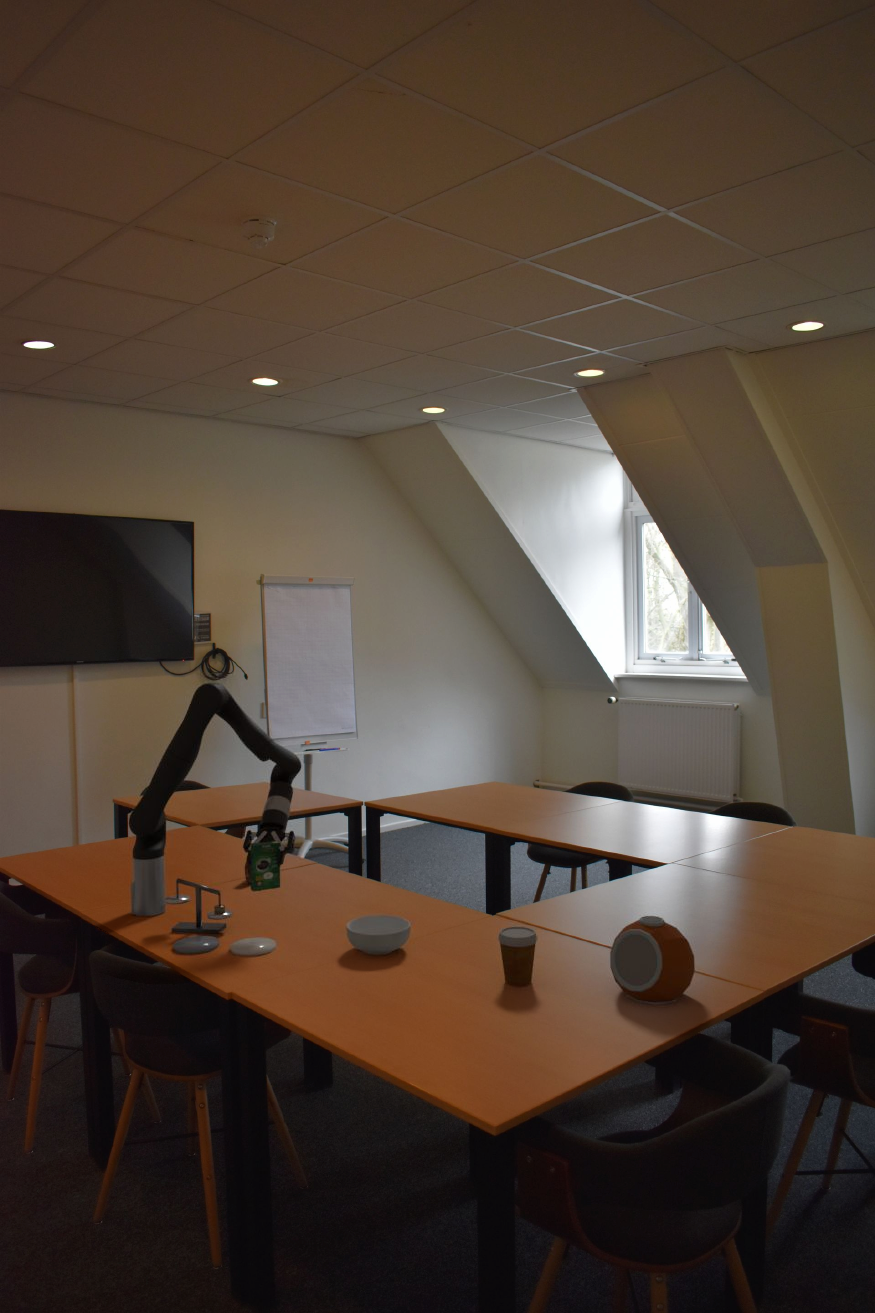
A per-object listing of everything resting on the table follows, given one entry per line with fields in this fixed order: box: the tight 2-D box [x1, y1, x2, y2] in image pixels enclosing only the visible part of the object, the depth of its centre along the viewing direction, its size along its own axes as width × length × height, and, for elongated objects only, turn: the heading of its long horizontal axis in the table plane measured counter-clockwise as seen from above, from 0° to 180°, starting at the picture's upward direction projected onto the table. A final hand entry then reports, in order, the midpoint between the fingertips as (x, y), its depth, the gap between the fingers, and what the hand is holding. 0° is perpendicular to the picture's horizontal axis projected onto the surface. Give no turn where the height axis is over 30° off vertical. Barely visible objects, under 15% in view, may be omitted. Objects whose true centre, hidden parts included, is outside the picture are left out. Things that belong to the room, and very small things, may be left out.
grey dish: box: [173, 935, 220, 955], centre depth 254 cm, size 12×12×1 cm
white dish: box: [229, 937, 277, 957], centre depth 252 cm, size 12×12×1 cm
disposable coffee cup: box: [497, 925, 538, 987], centre depth 225 cm, size 10×10×12 cm
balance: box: [165, 878, 233, 935], centre depth 269 cm, size 20×7×15 cm, turn 82°
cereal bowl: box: [345, 914, 411, 956], centre depth 249 cm, size 17×17×7 cm
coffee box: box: [250, 841, 281, 892], centre depth 262 cm, size 8×3×13 cm, turn 120°
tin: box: [244, 860, 251, 884], centre depth 324 cm, size 15×3×8 cm, turn 168°
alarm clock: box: [609, 915, 696, 1005], centre depth 216 cm, size 19×18×17 cm
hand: (264, 864), depth 261 cm, fingers closed on coffee box, 8 cm apart
